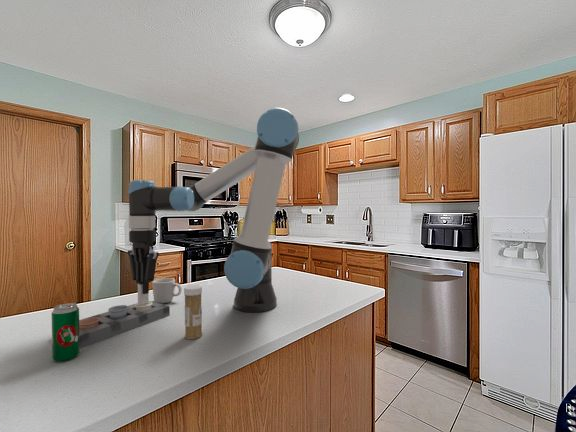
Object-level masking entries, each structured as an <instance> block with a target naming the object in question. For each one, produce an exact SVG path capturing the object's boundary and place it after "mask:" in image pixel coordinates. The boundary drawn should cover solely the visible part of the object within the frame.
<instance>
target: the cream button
mask: <svg viewBox="0 0 576 432" xmlns="http://www.w3.org/2000/svg"><path fill="white" fill-rule="evenodd" d="M152 302H153V301H151V302H149V303H146V304H142V305H139V304H138V302H137V304H136V303H134V304H135V308H136V310H137V311H144V310H147V309H150V308H151V306H152Z"/></svg>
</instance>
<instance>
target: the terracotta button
mask: <svg viewBox="0 0 576 432" xmlns="http://www.w3.org/2000/svg"><path fill="white" fill-rule="evenodd" d="M89 317H90V318H88V317H85V319H84V318H81V319H82V320H81V319H79V329H81V330H85V329H88V328H91V327H94V326H97V325H98V322H99V321H100V318H98V317H91V316H89Z"/></svg>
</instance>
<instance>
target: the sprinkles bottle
mask: <svg viewBox="0 0 576 432" xmlns="http://www.w3.org/2000/svg"><path fill="white" fill-rule="evenodd" d="M202 293H203V287H202V285H200V284H190V285H186V286H185V287H184V288H183V295H184V326H185V327H184V330H185V334H184V337H185V338H186V339H187V340H195V339H198V338H199V339H200V338H201V336H203V329H202V328H203V326H202V324H203V314H202V313H203V312H202V311H203V310H202V308H203V307H202Z"/></svg>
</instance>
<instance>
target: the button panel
mask: <svg viewBox="0 0 576 432" xmlns="http://www.w3.org/2000/svg"><path fill="white" fill-rule="evenodd" d="M149 302H152V306H151V308H150V309H147V310H144V311H137V310H136V308H135V304H137V303H138V302H137V303H134V304H133V303H132V304H130V305H127V306H128V309H127V316H125V317H122V318H119V319H116V320H113V319H110V312H109V311H108V310H107V311H106V312H101V313H98V314H94V315H91V316H89V317H87V318H90V317H98V318H100V321H99V322H98V325H97V326H94V327H91V328H88V329H85V330H81V329H79V331H80V349H81V348H83V347H86V346H89V345H92V344H95V343H97V342H100V341H103V340H105V339H108V338H111V337H115V336H116V335H120V334H123V333H126V332H128V331H130V330H133V329H136V328H139V327H141V326H144V325H146V324H147V325H148V324H149V323H153V322H155V321H158V320H160V319H164V318H167V317H169V316H170V306H169V305H167V304H166V305H165V304H164V303H156V302H155V301H150V300H149ZM85 318H86V317H85ZM85 318H81V319H80V320H82V319H85Z"/></svg>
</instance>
